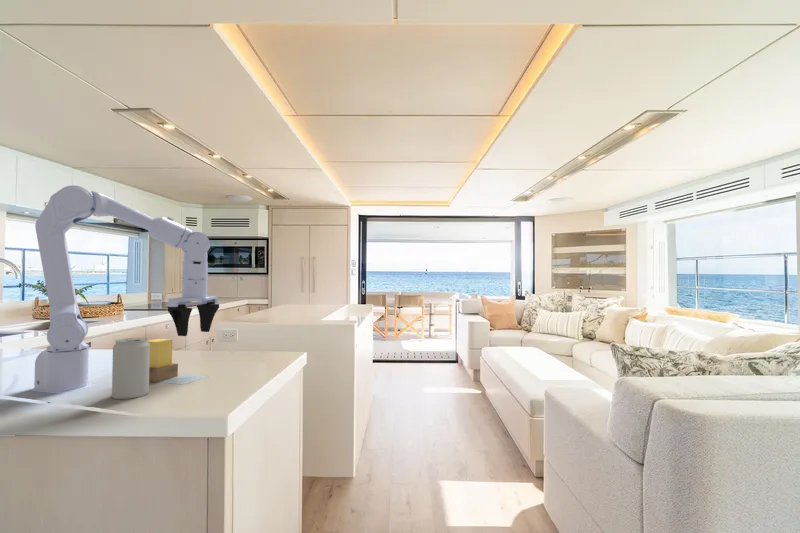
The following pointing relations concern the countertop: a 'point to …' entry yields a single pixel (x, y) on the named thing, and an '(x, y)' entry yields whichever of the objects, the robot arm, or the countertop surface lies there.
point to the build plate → (183, 378)
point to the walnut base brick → (163, 373)
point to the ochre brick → (160, 353)
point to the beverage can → (130, 368)
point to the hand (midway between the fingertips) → (194, 333)
